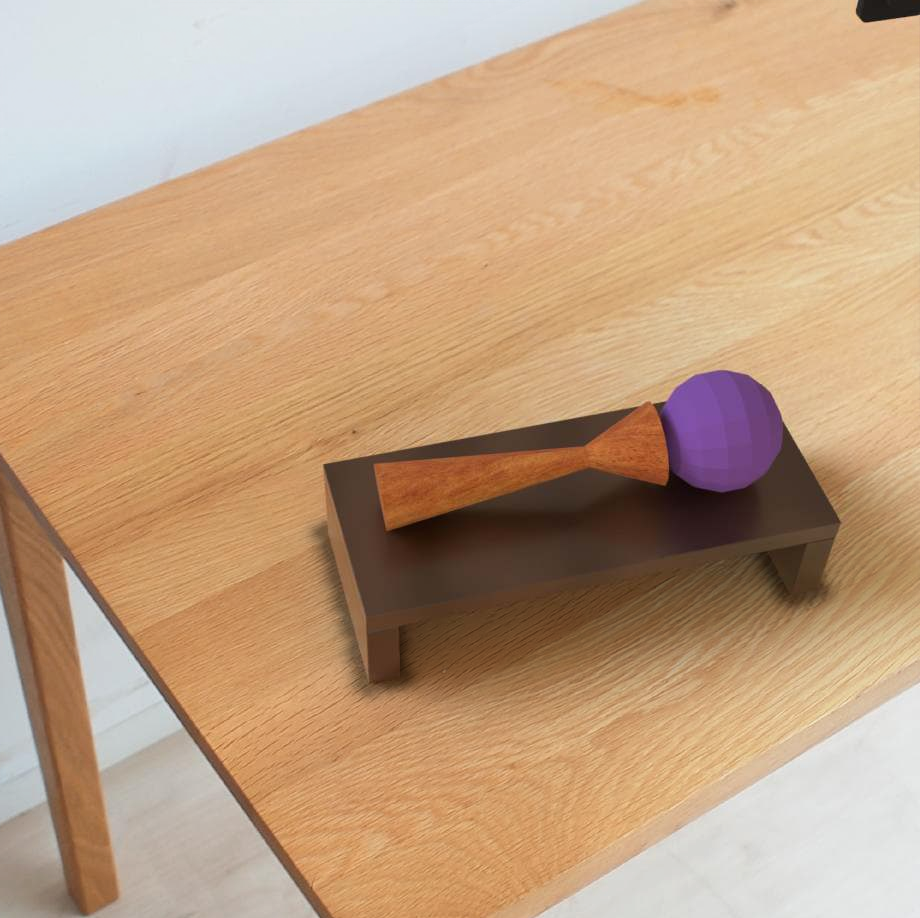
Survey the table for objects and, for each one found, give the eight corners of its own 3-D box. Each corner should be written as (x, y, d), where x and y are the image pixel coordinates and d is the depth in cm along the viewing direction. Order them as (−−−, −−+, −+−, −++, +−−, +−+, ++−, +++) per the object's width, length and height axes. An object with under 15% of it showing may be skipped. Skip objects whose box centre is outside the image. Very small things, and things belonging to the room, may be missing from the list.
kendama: (363, 412, 70) (759, 337, 72) (379, 506, 74) (755, 433, 75) (381, 486, 66) (804, 404, 67) (397, 582, 69) (797, 503, 71)
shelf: (742, 458, 82) (761, 383, 77) (816, 595, 76) (841, 521, 71) (328, 538, 78) (322, 463, 74) (369, 689, 72) (365, 617, 67)
